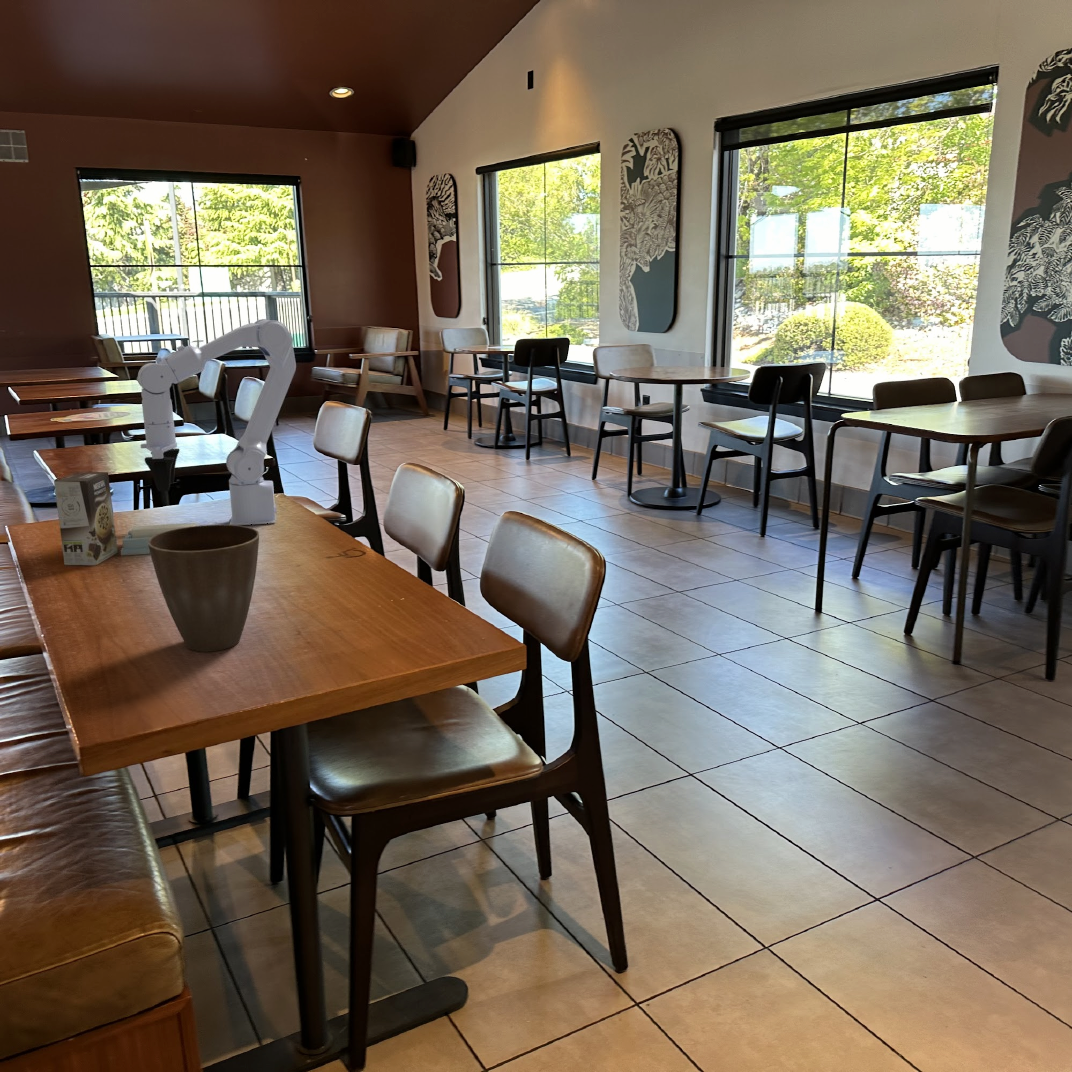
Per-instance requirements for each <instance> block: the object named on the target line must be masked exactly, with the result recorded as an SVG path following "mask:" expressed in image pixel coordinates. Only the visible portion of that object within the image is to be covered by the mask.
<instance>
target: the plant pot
mask: <svg viewBox="0 0 1072 1072" xmlns="http://www.w3.org/2000/svg"><path fill="white" fill-rule="evenodd" d="M259 543H260V532H259V531H258V530H256V529H255V528H253V527H249V526H246V525H230V524H203V525H197V526H192V527H185V528H179V529H174V530H170V531H166V532H163V533H160V534H157V535H155V536H153V537H152V538H150V539H149V541H148V546H149V550H150V557H151V560H152V561H151V562H152V565H153V568H154V572H155V575H156V579H157V582H158V585H159V588H160V590H161V593H162V595H163V599H164V600H165V603H166V606H167V609H168V611H169V613H170V616H171V618H172V620H173V623H174V624H175V626H176V628H177V630H178V632H179V635H180V636H181V638H182V640H183V641H184V644H185V646H186V647H187V648H188V649H189V650H192V651H194V652H195V651H196V652H202V653H203V652H205V653H206V652H216V651H222V650H226V649H230V648H232V647H234V646H236V645H237V644H239V642H240V640H241V638H242V635H243V632H244V628H245V625H246V622H247V618H248V614H249V610H250V606H251V603H252V602H251V601H252V597H253V596H252V595H253V591H254V586H255V579H256V575H257V566H258V557H259V546H260V545H259Z"/></svg>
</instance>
